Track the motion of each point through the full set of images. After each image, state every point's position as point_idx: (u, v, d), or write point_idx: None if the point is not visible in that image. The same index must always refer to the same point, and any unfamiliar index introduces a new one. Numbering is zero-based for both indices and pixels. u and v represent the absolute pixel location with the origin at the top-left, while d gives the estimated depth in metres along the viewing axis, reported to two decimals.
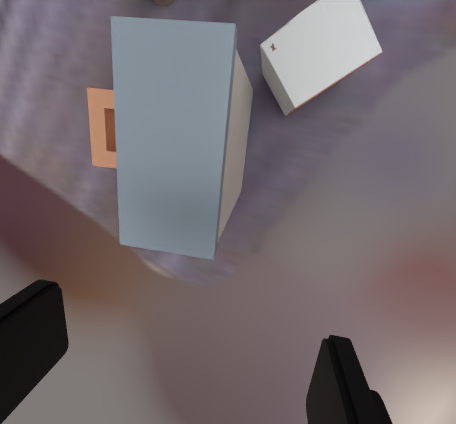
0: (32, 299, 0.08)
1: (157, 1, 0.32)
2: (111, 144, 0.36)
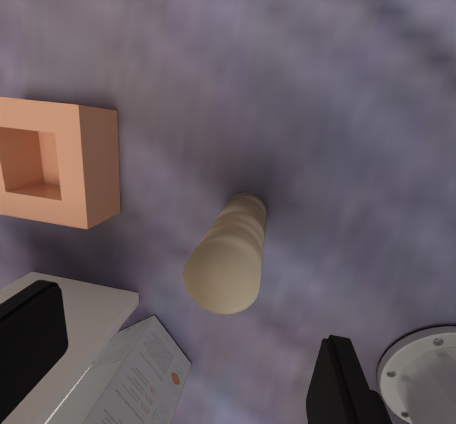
0: (32, 299, 0.08)
1: None
2: None
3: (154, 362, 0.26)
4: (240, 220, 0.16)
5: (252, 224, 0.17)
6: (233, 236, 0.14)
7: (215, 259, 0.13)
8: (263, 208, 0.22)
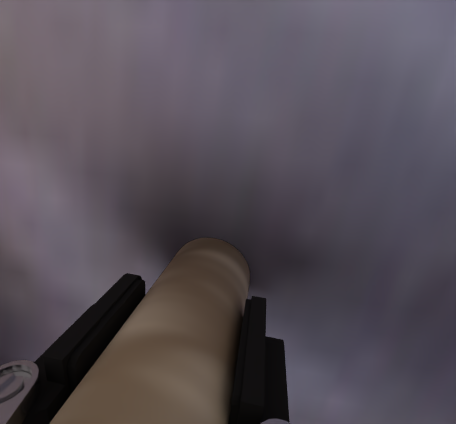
0: (127, 290, 0.09)
1: None
2: None
3: None
4: (140, 412, 0.05)
5: (186, 410, 0.05)
6: None
7: None
8: (241, 277, 0.11)
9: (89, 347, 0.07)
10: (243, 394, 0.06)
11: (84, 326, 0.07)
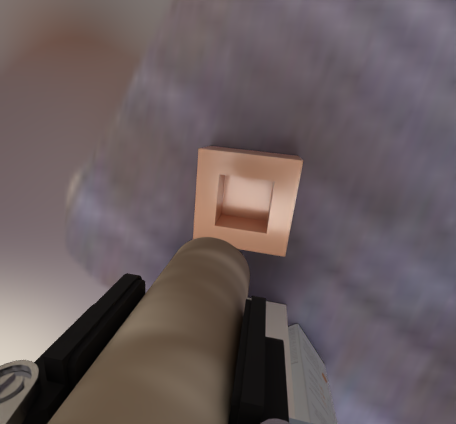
0: (127, 290, 0.09)
1: None
2: None
3: (313, 364, 0.31)
4: (139, 413, 0.05)
5: (185, 411, 0.05)
6: None
7: None
8: (241, 277, 0.11)
9: (89, 347, 0.07)
10: (243, 394, 0.06)
11: (84, 326, 0.07)
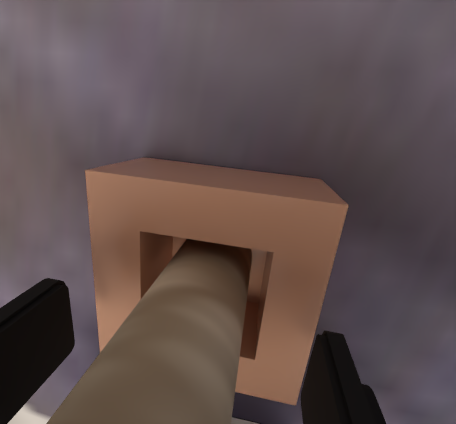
0: (40, 297, 0.08)
1: None
2: None
3: None
4: (177, 330, 0.07)
5: (208, 333, 0.07)
6: None
7: None
8: (245, 255, 0.13)
9: None
10: None
11: None
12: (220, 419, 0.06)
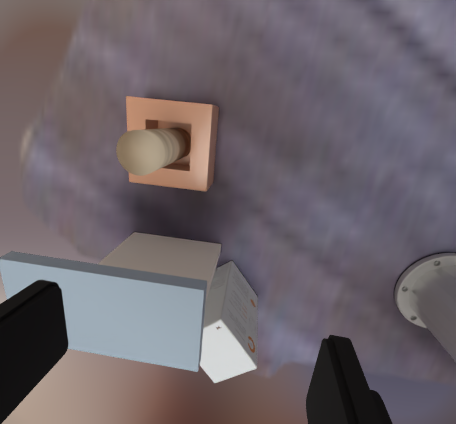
0: (32, 299, 0.08)
1: None
2: None
3: (240, 290, 0.37)
4: (157, 129, 0.26)
5: (166, 133, 0.26)
6: (146, 130, 0.23)
7: (133, 139, 0.23)
8: (186, 136, 0.32)
9: None
10: None
11: None
12: (167, 142, 0.25)
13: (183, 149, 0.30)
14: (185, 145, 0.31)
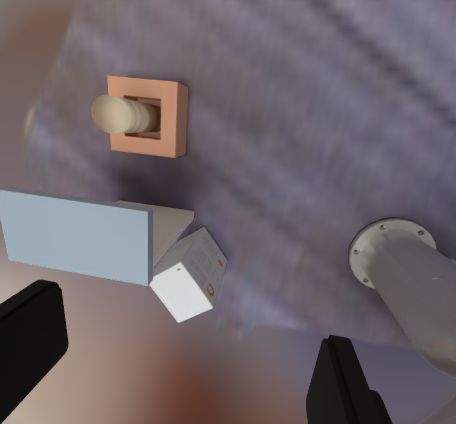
0: (32, 299, 0.08)
1: None
2: (133, 96, 0.37)
3: (208, 249, 0.42)
4: (128, 99, 0.32)
5: (136, 103, 0.32)
6: None
7: (104, 102, 0.28)
8: (159, 111, 0.38)
9: None
10: None
11: None
12: (135, 108, 0.31)
13: (154, 120, 0.36)
14: (157, 117, 0.36)
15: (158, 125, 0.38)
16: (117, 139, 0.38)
